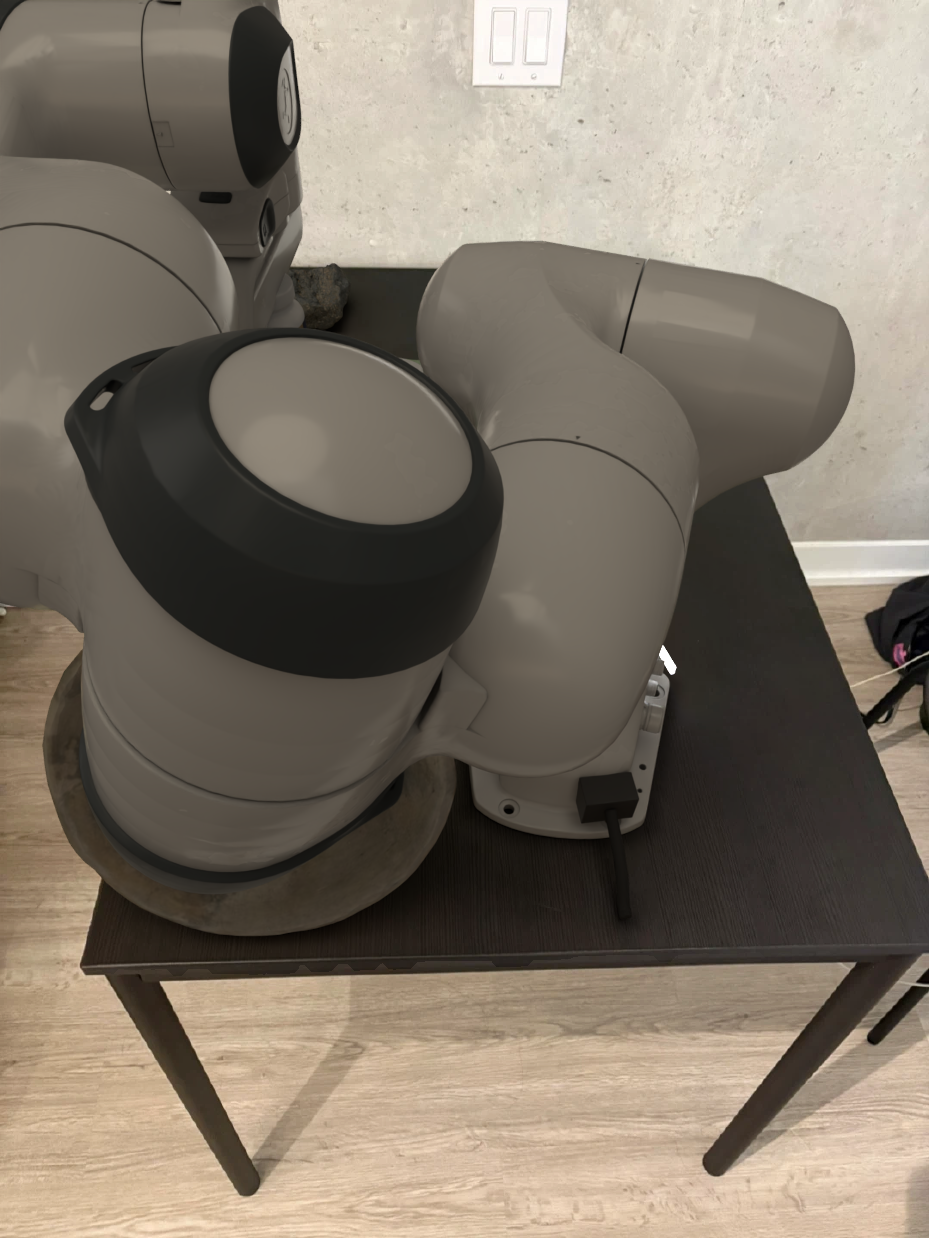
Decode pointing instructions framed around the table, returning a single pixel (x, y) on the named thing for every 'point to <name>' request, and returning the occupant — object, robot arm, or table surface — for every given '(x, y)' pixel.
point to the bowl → (280, 906)
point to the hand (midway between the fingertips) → (268, 344)
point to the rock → (321, 294)
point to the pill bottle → (287, 308)
